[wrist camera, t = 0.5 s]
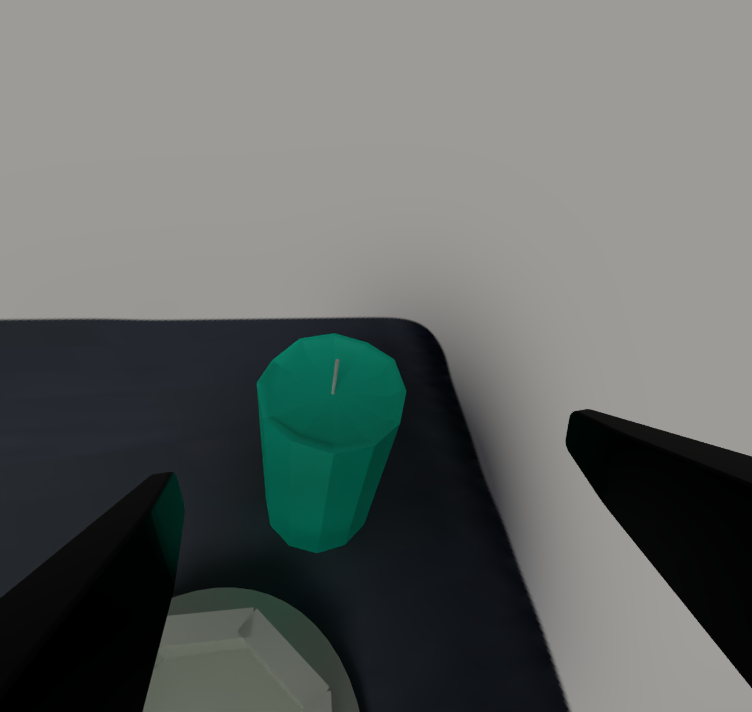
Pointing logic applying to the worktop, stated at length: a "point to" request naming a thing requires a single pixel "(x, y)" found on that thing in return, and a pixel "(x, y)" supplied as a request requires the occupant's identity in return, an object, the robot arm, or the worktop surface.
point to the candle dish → (245, 658)
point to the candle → (326, 436)
